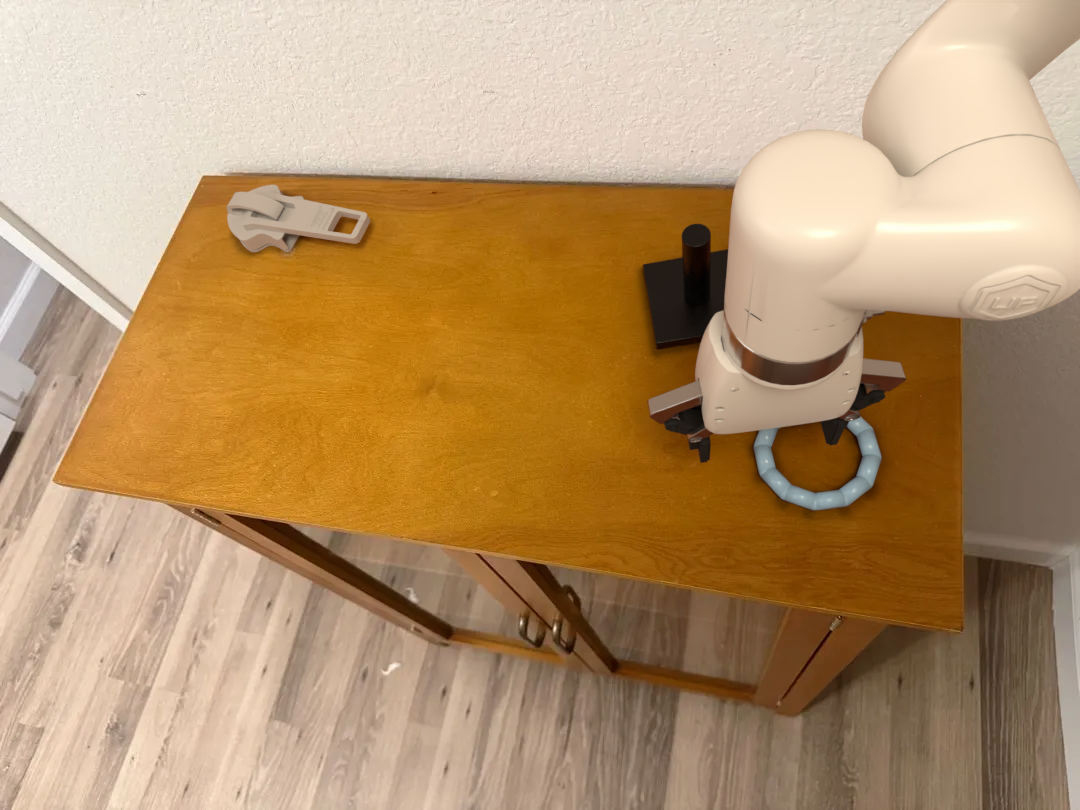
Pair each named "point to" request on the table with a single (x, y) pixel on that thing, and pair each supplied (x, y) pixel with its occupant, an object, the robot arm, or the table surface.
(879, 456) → the ring
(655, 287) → the post
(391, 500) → the table surface
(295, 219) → the zipper pull
